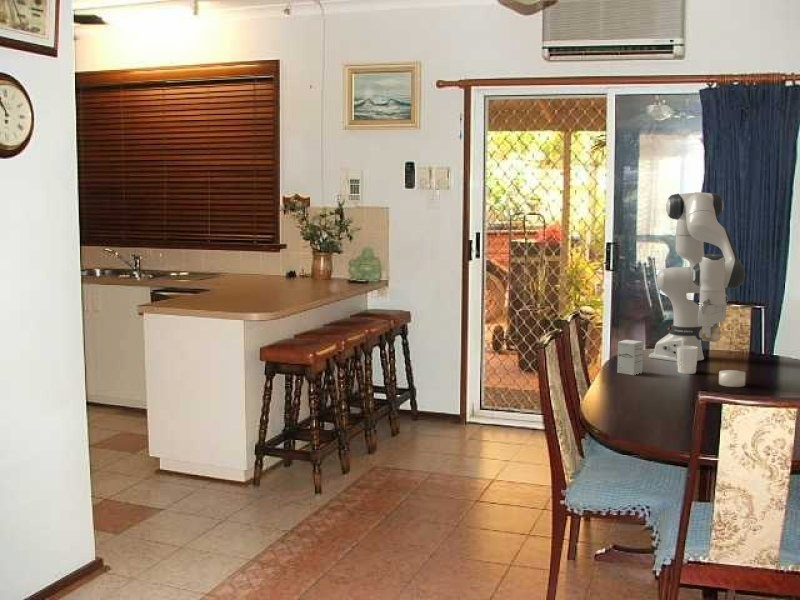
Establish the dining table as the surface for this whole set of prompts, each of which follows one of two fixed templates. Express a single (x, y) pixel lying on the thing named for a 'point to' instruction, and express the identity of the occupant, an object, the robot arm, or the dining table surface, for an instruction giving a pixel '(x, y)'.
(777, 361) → the dining table surface
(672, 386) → the dining table surface
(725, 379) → the white rounded lump
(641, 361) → the supplement box
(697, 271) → the robot arm
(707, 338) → the beech block
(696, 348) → the white cup
